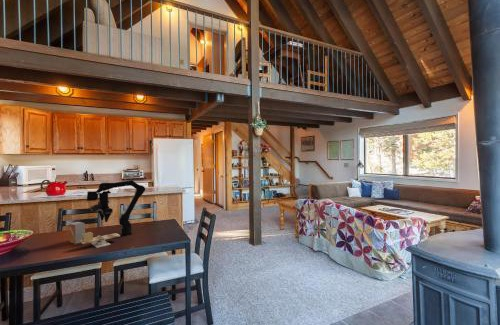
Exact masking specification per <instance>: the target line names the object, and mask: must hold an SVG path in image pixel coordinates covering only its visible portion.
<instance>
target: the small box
mask: <svg viewBox="0 0 500 325" xmlns="http://www.w3.org/2000/svg"><path fill="white" fill-rule="evenodd" d="M68 225H69V226H68V228H69V233H68V234H69V236H68V237H69V238H68V239H69V242H68V243H71V244H75V245H77V243H78V244H82V243H81V242H80V240H82V233H86V224H85V222H82V221H75V222H71V223H69V224H68Z"/></svg>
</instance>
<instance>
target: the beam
mask: <svg viewBox="0 0 500 325" xmlns="http://www.w3.org/2000/svg"><path fill="white" fill-rule="evenodd" d="M118 237H121V234H119V233H118V232H117V233H110V234H105V235H100V236H99V237H97V236H95V237H93V240H92V241H87V242H83V241H82V240H80V242H81V243H80V244H82V245H87V244H91V243H93V242H96V241H101V240H102V238H104V240H105V241H107V240H110V239H115V238H118Z"/></svg>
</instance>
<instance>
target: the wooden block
mask: <svg viewBox="0 0 500 325" xmlns="http://www.w3.org/2000/svg"><path fill="white" fill-rule="evenodd" d="M93 238H94V233H93V232H91V231H88V232H85V233H82V241H83V242H87V241H92V240H93Z"/></svg>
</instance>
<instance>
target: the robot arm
mask: <svg viewBox="0 0 500 325" xmlns="http://www.w3.org/2000/svg"><path fill="white" fill-rule="evenodd" d="M127 186H131V187H133V188H134V189H135V192H134V195H133V196H132V199H131V201H130V202H129V204H128V206H127V208H126V210H125V211H124V213H122V212H121V213H120V215H119V217H118V222H119V225H121V227H120V236H123V237H125V236H129V235H132V234H133V233H132V223H131V221H129V220H130V216H131V214H132V212H133V209H134V208H135V206H136V204H137V202H138V201H139V199H140V198H141V196H142V195H143V194H144V193H145V191H146V187H145V186H144V185H141V184H139V183H137V182H135V181H134V180H132V179H129V180H124V181H123V180H122V181H117V182H115V181H114V182H101V183H100V184H99V185H98V189H96V190H94V191H90V190H89V191H87V194H86V201H87V202H93V201H97V200H98V202H97V203H96V204H93V205H91V206H89V209H90V211H91V212H97V213H98V215H99V218H100V220H101V221H103V220H104V222H105V223H107V222H108V221H109V219H110V216H111V215H112V214H113V209H112V208H111V207H110V206H109V203H110V200H109V194H111V193H112V191H110V190H112V189H115V188H122V187H127Z"/></svg>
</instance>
